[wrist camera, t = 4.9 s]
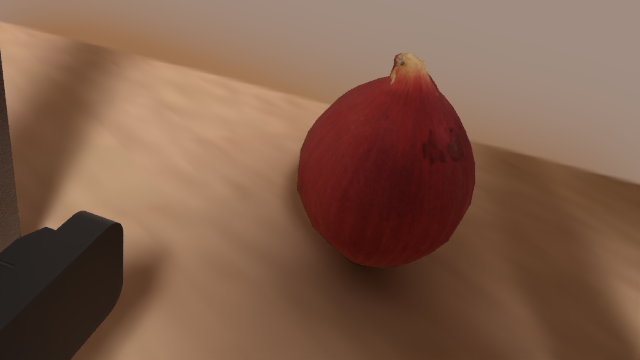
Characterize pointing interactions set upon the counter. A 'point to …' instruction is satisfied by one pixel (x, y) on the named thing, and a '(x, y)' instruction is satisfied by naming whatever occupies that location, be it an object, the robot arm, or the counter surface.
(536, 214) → the counter surface
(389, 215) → the onion
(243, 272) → the counter surface
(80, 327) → the robot arm
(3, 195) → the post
